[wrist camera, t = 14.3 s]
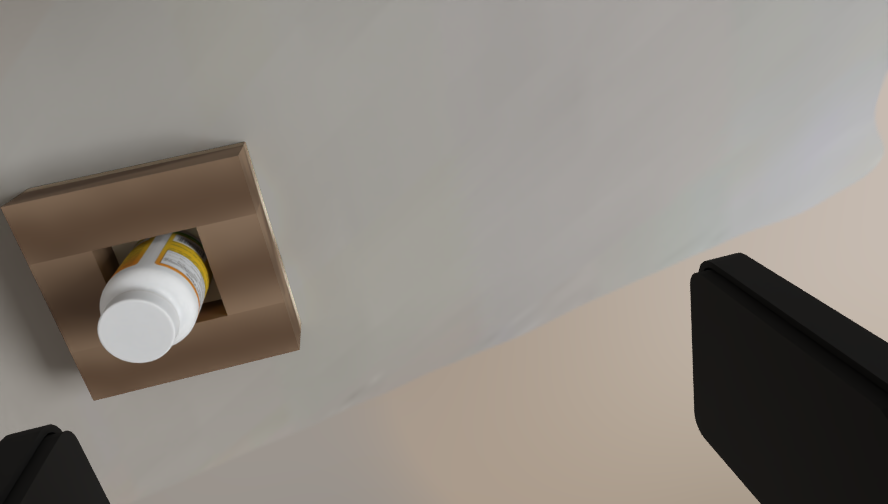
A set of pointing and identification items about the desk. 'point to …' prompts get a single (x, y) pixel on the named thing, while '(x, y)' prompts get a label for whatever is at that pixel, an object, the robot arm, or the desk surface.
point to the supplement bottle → (154, 297)
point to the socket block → (148, 215)
